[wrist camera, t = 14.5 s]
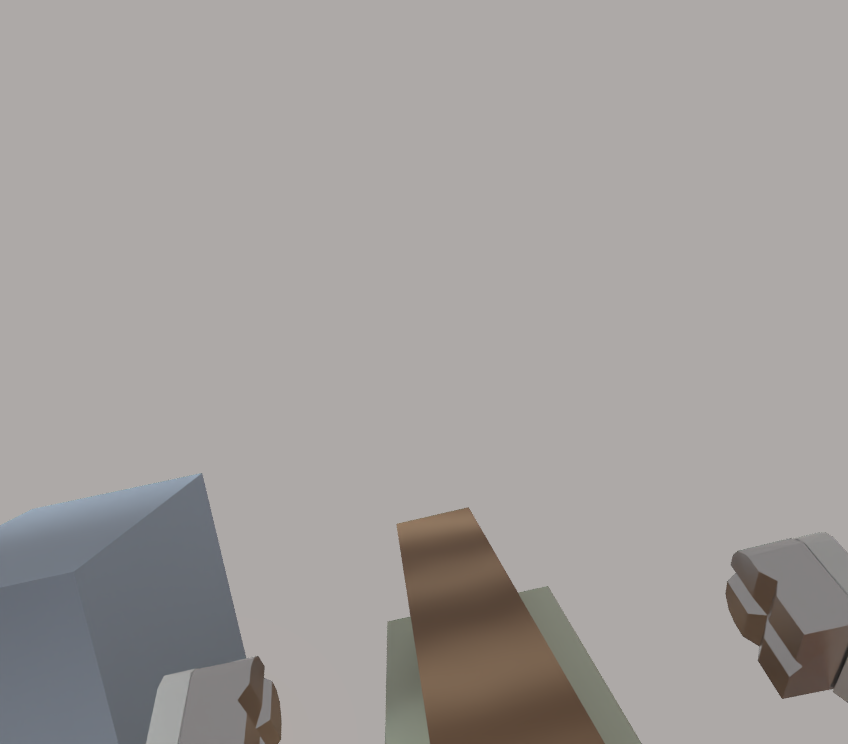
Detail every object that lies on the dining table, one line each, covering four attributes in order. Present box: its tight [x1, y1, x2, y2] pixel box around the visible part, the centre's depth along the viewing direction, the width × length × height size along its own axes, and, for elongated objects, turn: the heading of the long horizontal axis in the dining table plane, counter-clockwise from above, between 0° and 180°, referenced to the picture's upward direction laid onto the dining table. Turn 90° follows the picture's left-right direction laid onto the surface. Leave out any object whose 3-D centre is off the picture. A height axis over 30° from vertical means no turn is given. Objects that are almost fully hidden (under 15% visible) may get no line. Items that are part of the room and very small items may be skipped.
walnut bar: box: [397, 508, 605, 744], centre depth 23 cm, size 24×4×4 cm, turn 5°
